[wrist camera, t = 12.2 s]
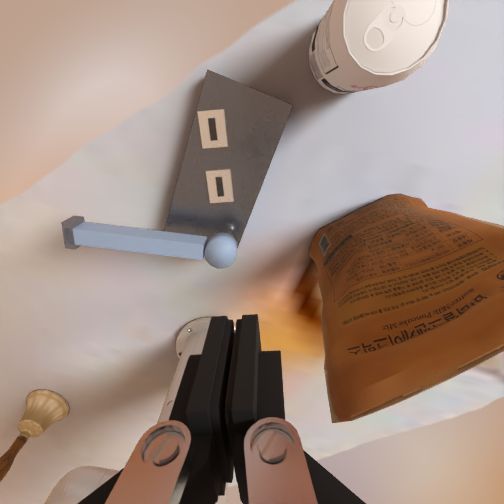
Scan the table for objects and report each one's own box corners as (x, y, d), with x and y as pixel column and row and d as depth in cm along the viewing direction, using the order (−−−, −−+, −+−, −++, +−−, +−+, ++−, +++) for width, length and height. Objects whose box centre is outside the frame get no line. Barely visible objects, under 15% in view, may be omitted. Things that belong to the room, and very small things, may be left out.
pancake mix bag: (285, 232, 44) (311, 400, 19) (419, 164, 39) (697, 265, 14) (306, 269, 46) (354, 464, 21) (435, 209, 42) (699, 365, 16)
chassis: (236, 247, 45) (231, 266, 40) (170, 223, 44) (156, 240, 39) (291, 105, 37) (295, 105, 32) (211, 72, 36) (201, 65, 30)
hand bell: (21, 388, 60) (-57, 477, 45) (63, 390, 60) (-3, 480, 45) (34, 417, 63) (-35, 509, 49) (74, 419, 63) (16, 511, 49)
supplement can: (349, -13, 32) (409, -101, 19) (397, 50, 34) (483, 12, 21) (292, 55, 35) (309, 20, 21) (340, 109, 37) (383, 110, 24)
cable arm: (238, 234, 37) (236, 242, 35) (236, 260, 39) (234, 270, 37) (73, 214, 37) (61, 220, 35) (77, 241, 39) (65, 249, 37)
